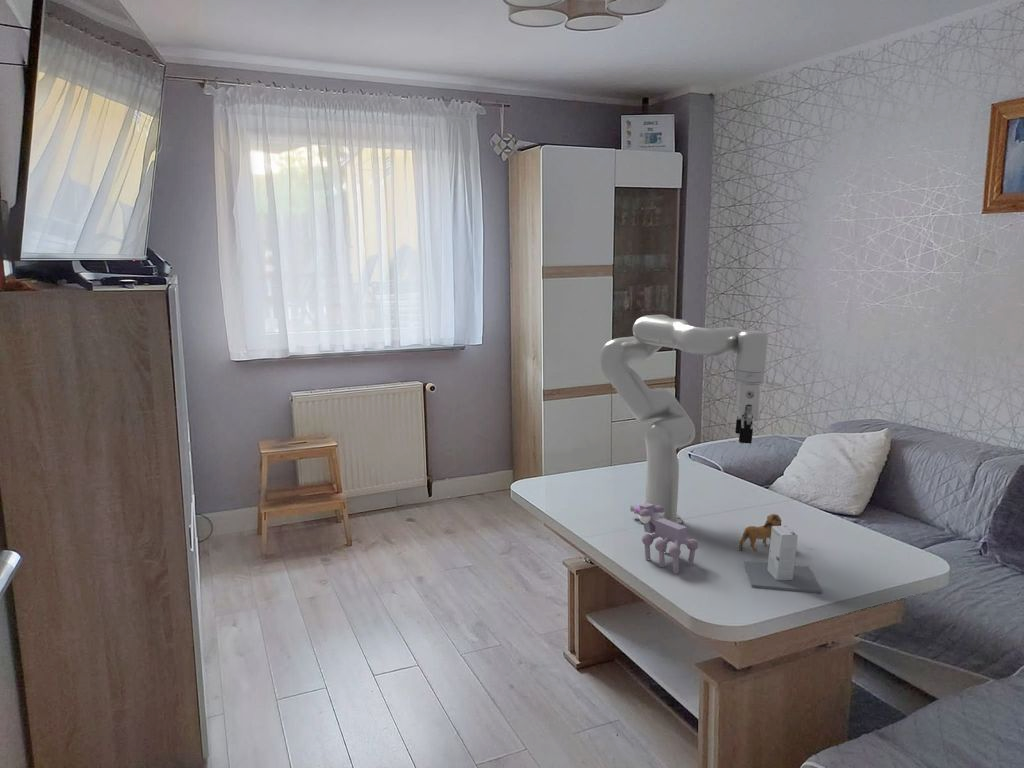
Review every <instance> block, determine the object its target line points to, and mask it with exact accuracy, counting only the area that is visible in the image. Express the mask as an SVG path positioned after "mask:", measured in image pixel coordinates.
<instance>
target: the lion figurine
mask: <svg viewBox="0 0 1024 768" xmlns="http://www.w3.org/2000/svg"><path fill="white" fill-rule="evenodd" d="M766 517H767V518H766V521H765V523H764V525H761V526H755V525H754V526H753V525H750V526H747V527H745V529H744V530H743V533H742V537H741V539H740V540H739V542H738V549H739V552H742V551H743V549H744V547H743V546H744V543H745V542H746V541H747V540H748V539H749V541H750V546H749V547H750V548H751V550H752V552H754V553H758V552H759V550H758V549H757V548H755V545H756V542H757V540H761V541H762V543H761V545H762V547H763V546H764V547H766V546H767V545H768V544H767V540H768V539H769V540H770V539H771V529H772V526H782V519H781V517H780V515H779V514H776V513H771V514H769V515H767V516H766Z"/></svg>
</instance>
